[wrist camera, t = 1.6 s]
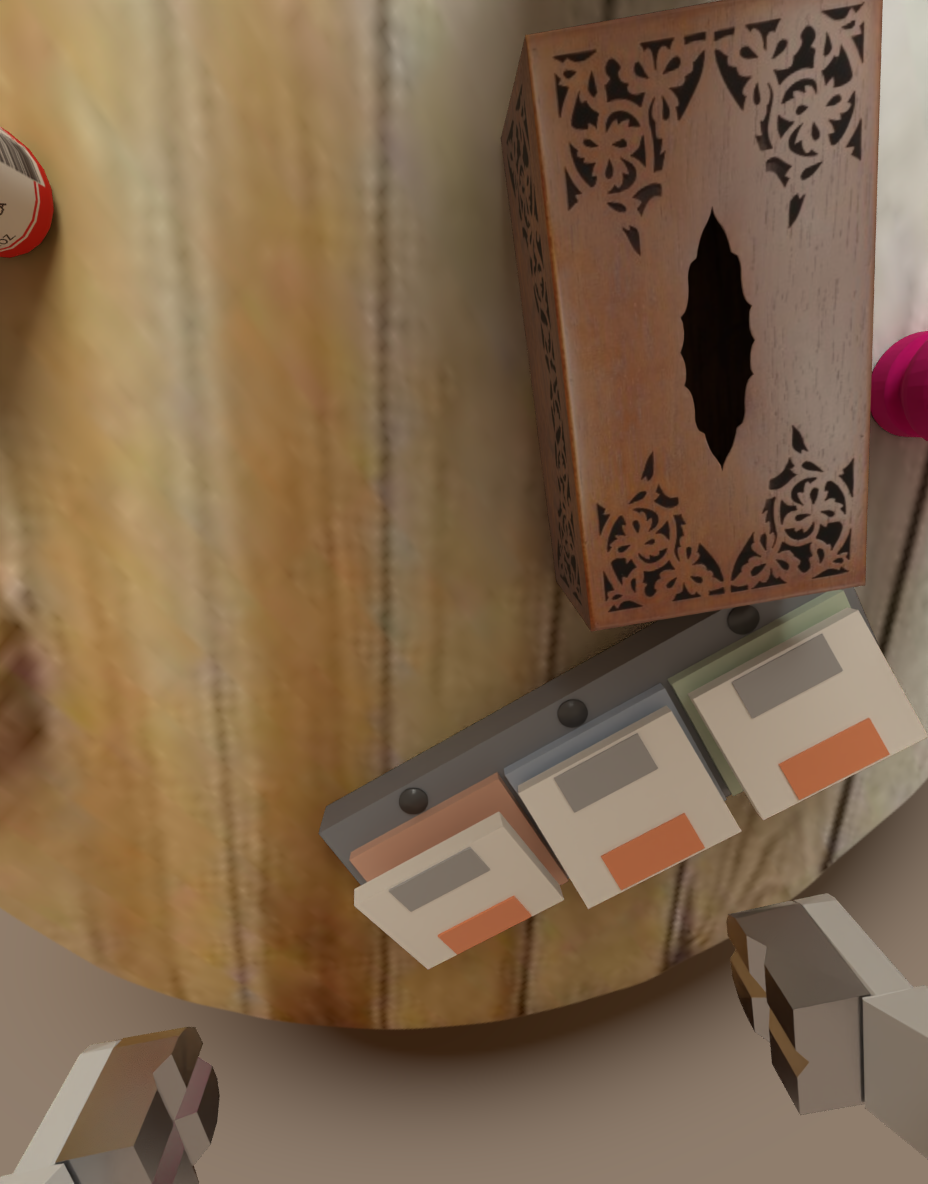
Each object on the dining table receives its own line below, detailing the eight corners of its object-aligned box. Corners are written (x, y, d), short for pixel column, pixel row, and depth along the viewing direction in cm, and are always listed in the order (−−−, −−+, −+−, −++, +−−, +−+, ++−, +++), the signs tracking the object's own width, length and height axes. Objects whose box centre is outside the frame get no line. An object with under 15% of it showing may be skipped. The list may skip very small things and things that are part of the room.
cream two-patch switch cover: (847, 607, 38) (859, 610, 36) (915, 730, 38) (930, 737, 37) (687, 693, 39) (693, 699, 38) (755, 811, 40) (764, 821, 38)
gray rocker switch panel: (808, 536, 41) (844, 548, 37) (873, 686, 44) (912, 711, 41) (325, 806, 45) (316, 841, 42) (419, 923, 49) (418, 964, 45)
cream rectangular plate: (666, 705, 39) (672, 711, 38) (734, 822, 40) (742, 832, 38) (517, 785, 40) (518, 794, 39) (585, 897, 41) (588, 910, 40)
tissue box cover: (766, 544, 41) (865, 585, 32) (555, 580, 41) (591, 631, 32) (757, 95, 34) (883, -29, 24) (500, 140, 34) (525, 34, 24)
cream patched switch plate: (499, 811, 39) (503, 827, 38) (559, 884, 43) (564, 901, 42) (354, 889, 40) (354, 907, 39) (426, 953, 44) (428, 971, 43)
